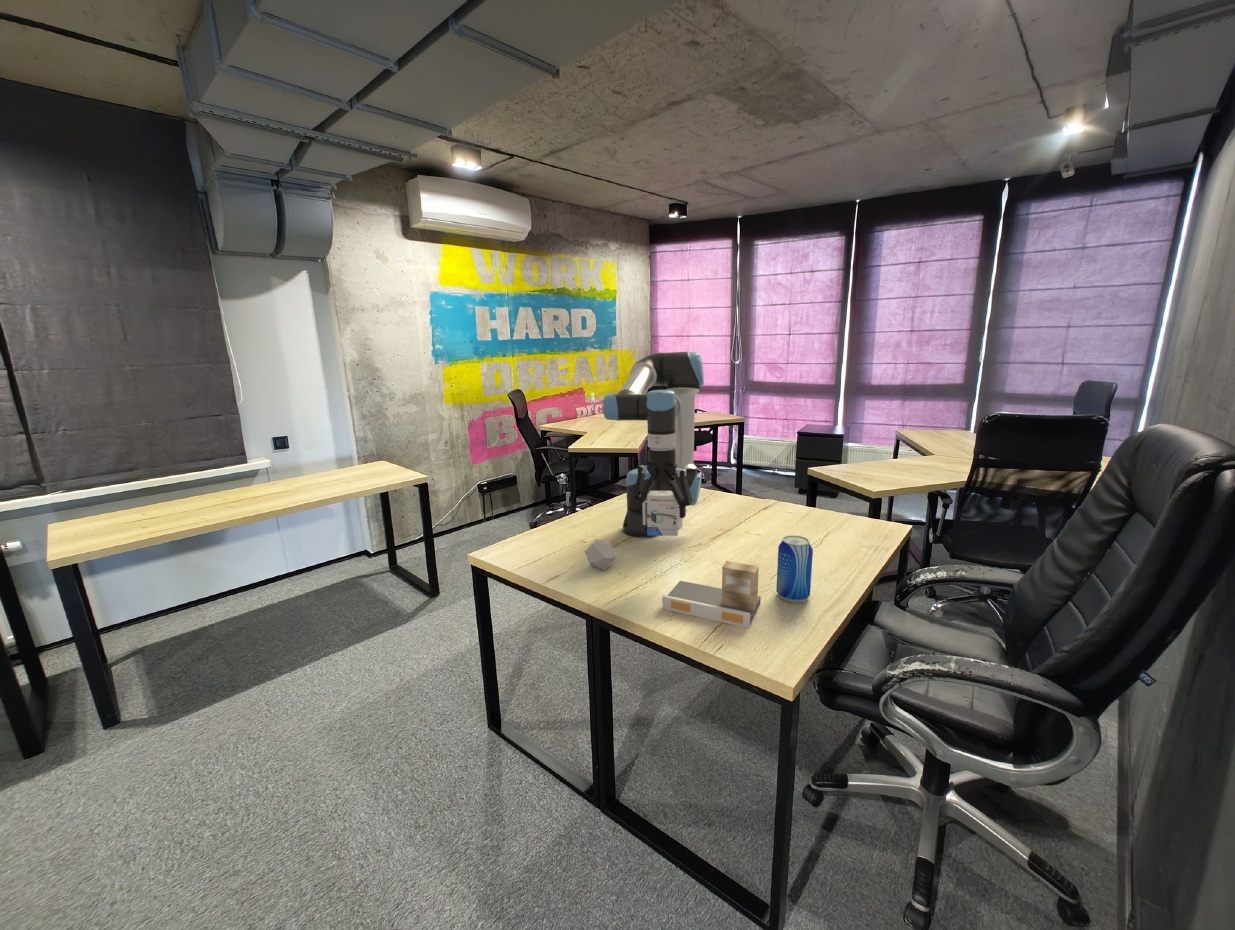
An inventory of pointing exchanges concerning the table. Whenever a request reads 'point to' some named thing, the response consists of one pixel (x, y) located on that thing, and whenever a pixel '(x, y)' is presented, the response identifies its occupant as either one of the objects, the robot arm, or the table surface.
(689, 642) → the table surface
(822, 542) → the table surface
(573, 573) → the table surface
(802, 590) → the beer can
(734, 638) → the table surface
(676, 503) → the ink box
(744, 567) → the brown cardboard box
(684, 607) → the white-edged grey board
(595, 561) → the die
